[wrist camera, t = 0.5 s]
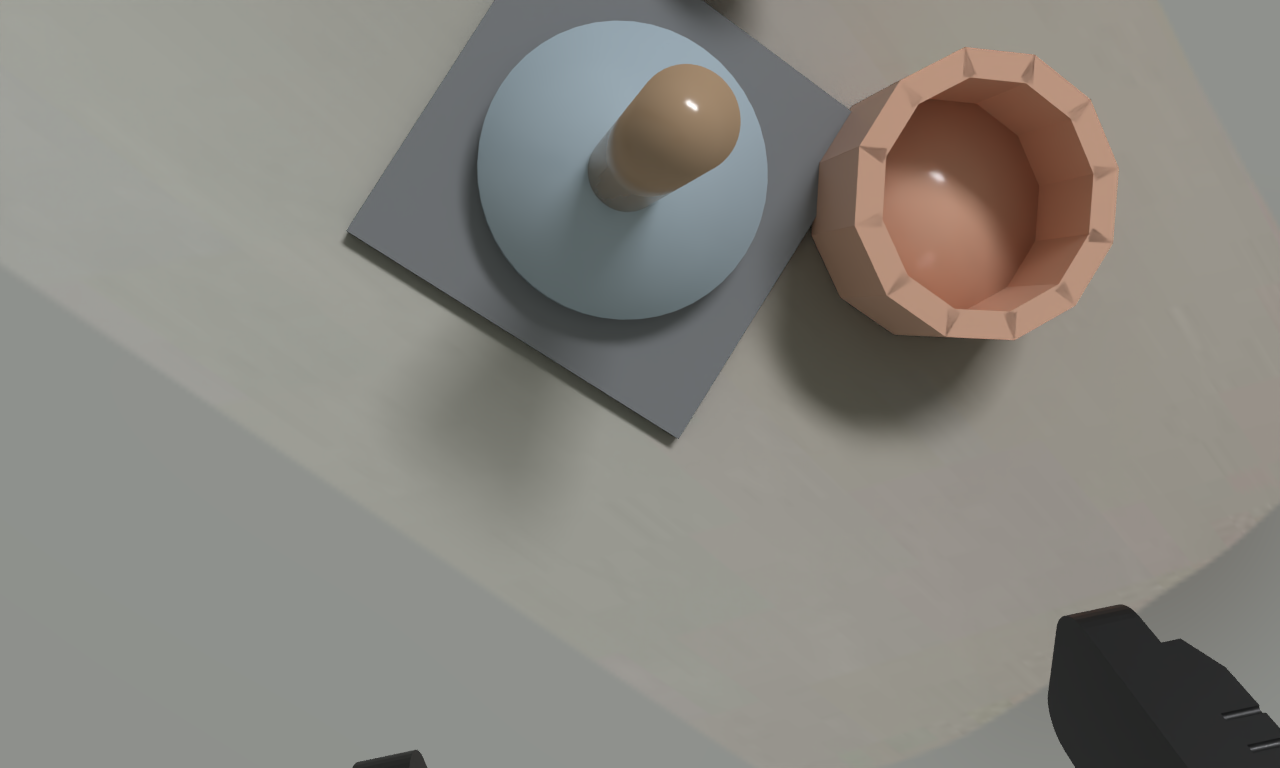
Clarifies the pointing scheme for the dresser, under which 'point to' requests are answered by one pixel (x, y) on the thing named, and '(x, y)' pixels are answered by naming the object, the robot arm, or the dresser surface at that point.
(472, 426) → the dresser surface
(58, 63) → the dresser surface
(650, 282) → the lid
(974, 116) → the bowl
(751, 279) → the mat
